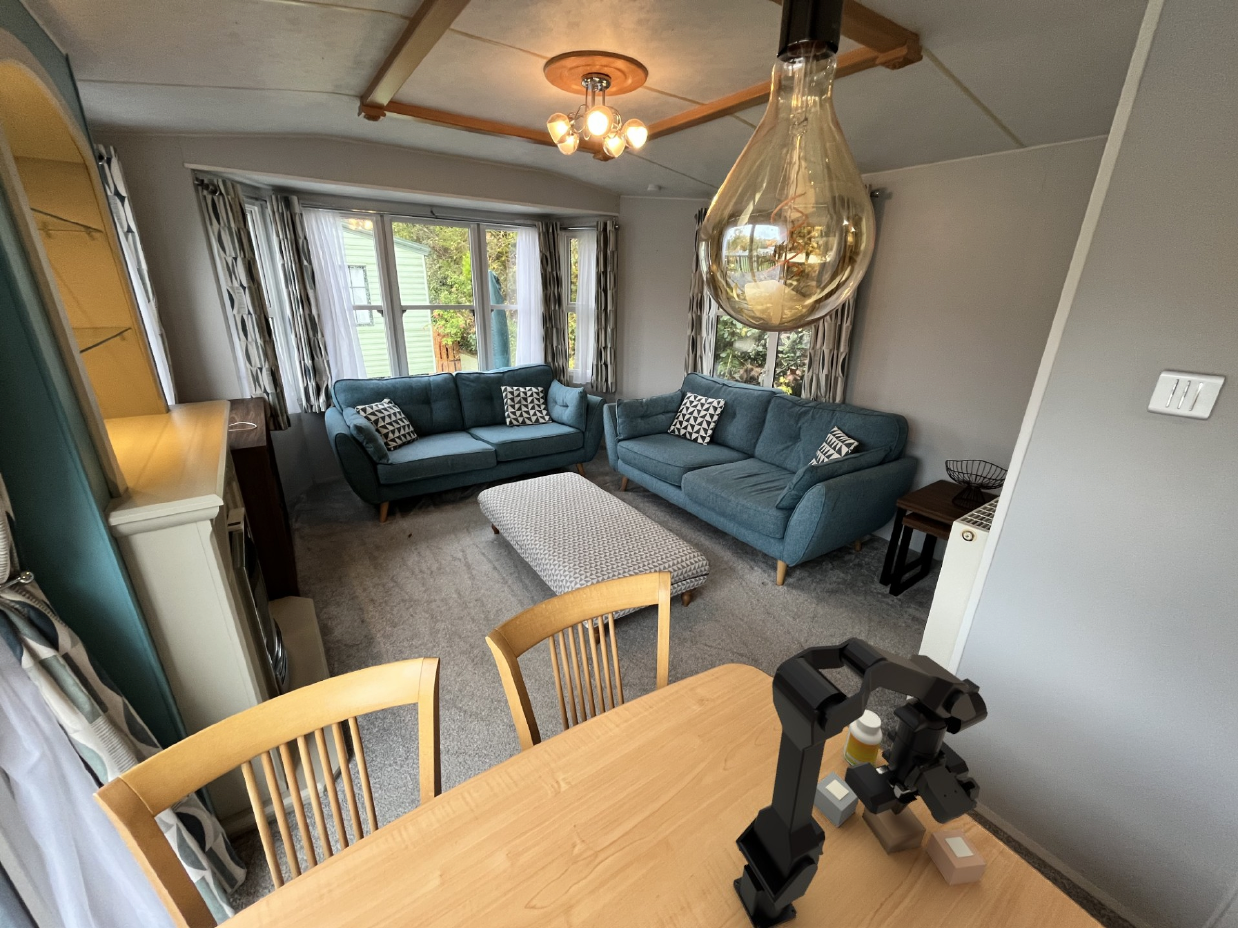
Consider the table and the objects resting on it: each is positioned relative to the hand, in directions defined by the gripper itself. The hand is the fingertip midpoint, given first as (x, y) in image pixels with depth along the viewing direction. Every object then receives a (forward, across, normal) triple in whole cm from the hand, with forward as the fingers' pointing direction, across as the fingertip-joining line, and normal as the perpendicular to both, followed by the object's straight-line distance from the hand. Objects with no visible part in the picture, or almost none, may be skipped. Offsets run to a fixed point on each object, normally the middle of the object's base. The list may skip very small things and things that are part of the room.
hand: (894, 811), depth 80 cm
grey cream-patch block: (+4, -6, +6) cm, 10 cm away
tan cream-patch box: (+4, +5, -7) cm, 10 cm away
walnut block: (+4, 0, 0) cm, 5 cm away
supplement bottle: (+4, +5, +12) cm, 14 cm away
